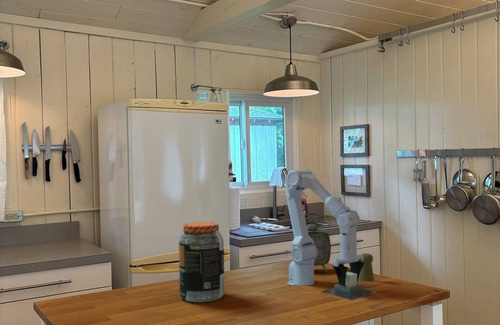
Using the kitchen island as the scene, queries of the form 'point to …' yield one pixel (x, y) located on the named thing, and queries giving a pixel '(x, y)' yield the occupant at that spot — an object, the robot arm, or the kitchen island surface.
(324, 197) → the robot arm
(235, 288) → the kitchen island surface
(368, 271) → the green pawn
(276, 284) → the kitchen island surface
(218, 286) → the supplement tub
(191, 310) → the kitchen island surface
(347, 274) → the pale grey block
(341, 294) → the stand base
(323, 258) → the tabletop clock
